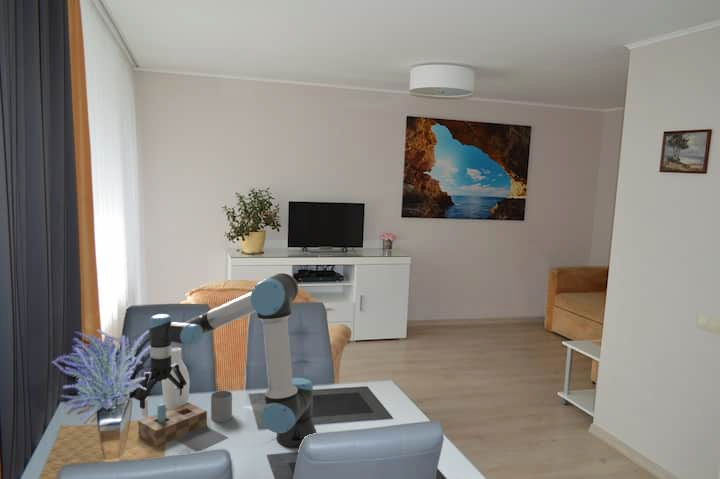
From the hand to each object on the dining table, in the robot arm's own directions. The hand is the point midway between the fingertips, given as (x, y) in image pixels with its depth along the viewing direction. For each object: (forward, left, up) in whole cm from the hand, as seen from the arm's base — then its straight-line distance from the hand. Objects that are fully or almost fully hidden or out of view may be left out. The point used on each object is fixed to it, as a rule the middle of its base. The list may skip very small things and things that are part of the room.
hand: (161, 410), depth 204 cm
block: (0, -5, -10) cm, 11 cm away
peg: (0, 0, -10) cm, 10 cm away
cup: (-5, -24, -10) cm, 27 cm away
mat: (-14, -8, -10) cm, 19 cm away
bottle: (+18, -18, -10) cm, 27 cm away
